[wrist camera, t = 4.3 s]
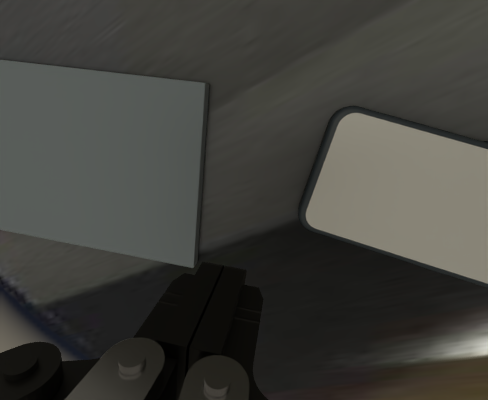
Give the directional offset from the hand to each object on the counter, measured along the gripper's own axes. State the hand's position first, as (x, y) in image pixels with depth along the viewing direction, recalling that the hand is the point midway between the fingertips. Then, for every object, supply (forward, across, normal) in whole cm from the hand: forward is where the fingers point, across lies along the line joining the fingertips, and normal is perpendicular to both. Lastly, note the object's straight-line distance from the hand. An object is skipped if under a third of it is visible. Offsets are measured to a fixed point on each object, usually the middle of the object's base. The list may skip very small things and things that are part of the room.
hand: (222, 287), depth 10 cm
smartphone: (+12, -3, -3) cm, 12 cm away
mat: (+12, +14, 0) cm, 18 cm away
